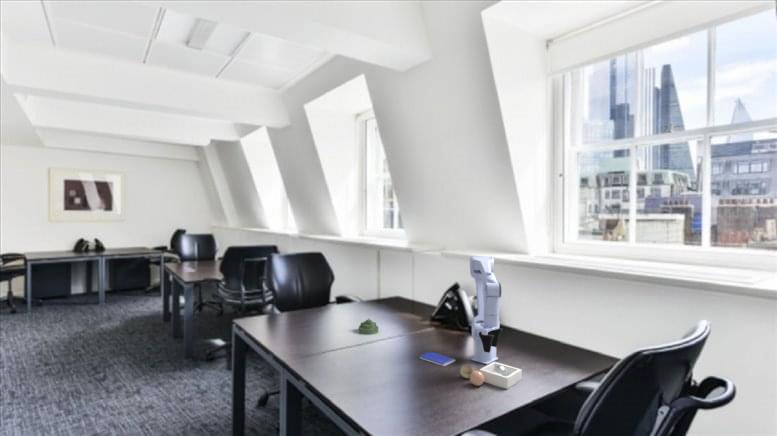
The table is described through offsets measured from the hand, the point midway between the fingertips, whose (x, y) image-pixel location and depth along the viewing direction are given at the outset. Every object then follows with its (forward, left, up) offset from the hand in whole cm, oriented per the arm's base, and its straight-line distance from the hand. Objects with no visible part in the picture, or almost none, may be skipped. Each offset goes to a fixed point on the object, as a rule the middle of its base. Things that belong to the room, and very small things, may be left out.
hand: (490, 349), depth 159 cm
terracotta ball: (+13, +2, -9) cm, 16 cm away
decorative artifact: (-5, -71, -10) cm, 72 cm away
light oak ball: (+10, -4, -9) cm, 14 cm away
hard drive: (+2, -23, -10) cm, 25 cm away
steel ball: (+3, +6, -9) cm, 11 cm away
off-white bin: (+3, +6, -9) cm, 12 cm away
